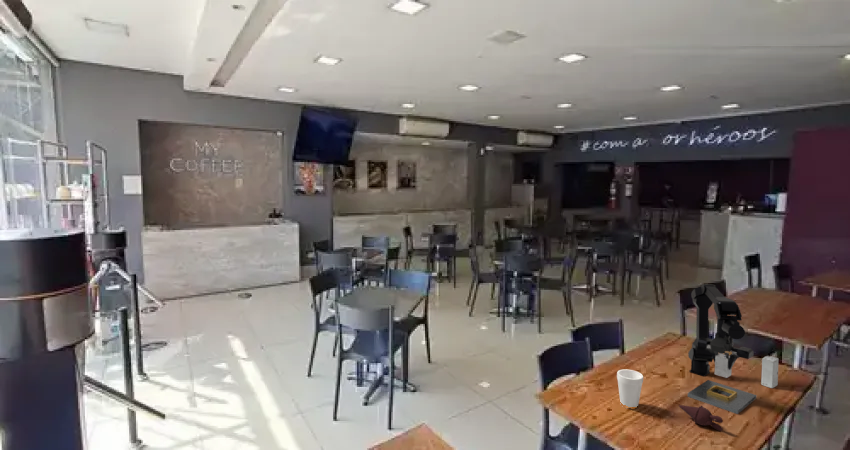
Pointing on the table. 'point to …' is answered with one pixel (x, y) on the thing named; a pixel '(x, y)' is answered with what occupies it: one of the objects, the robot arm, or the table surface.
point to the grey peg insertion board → (722, 396)
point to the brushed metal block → (722, 365)
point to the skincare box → (769, 372)
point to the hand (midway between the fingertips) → (723, 367)
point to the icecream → (702, 416)
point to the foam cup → (629, 387)
